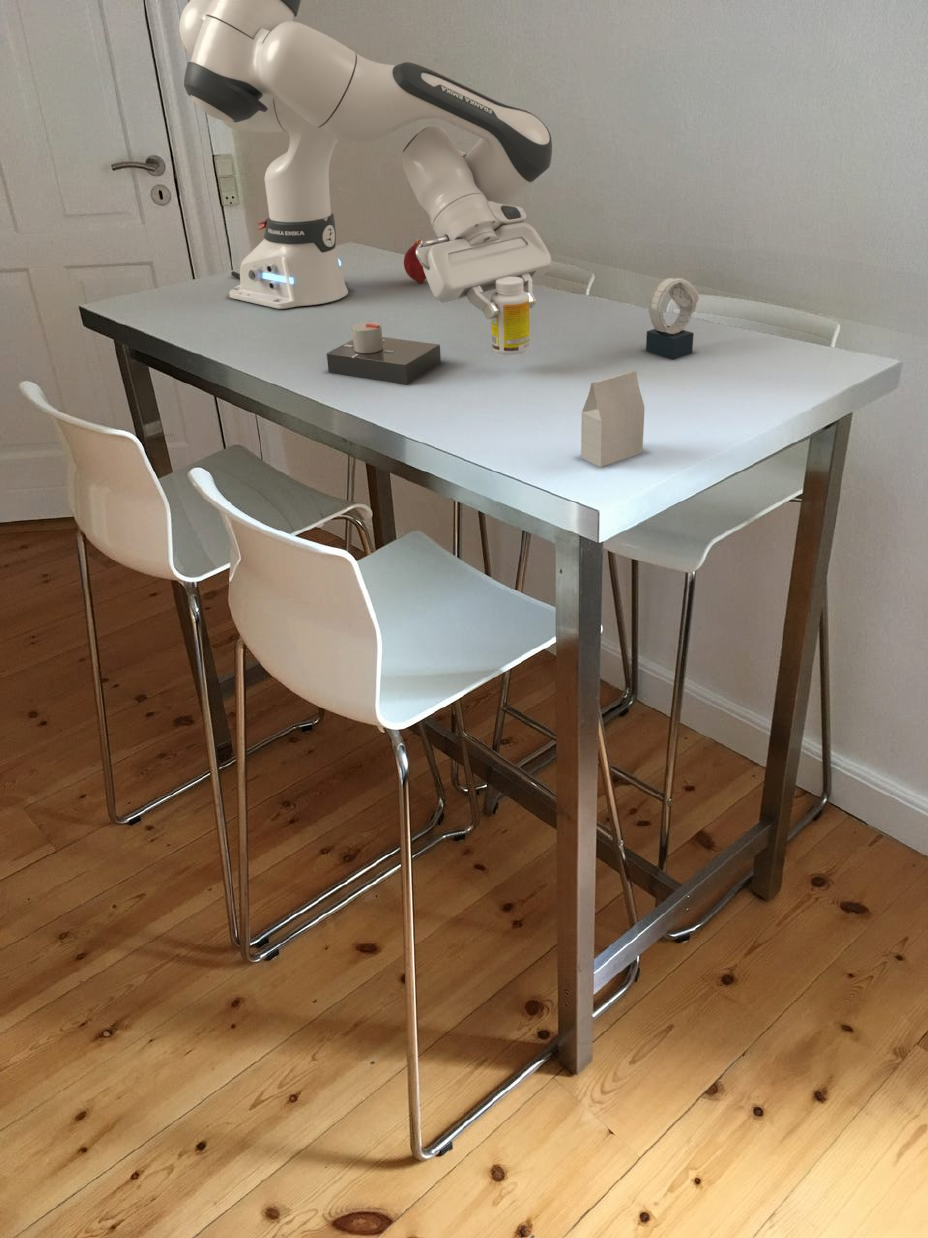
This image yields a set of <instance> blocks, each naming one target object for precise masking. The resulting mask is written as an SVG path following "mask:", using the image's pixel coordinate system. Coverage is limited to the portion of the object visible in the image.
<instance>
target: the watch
mask: <svg viewBox="0 0 928 1238" xmlns="http://www.w3.org/2000/svg"><path fill="white" fill-rule="evenodd" d="M667 293H668V294H669V296H670V298H671V299H672V300H673V302H674V303H675V305H676V308H677V309H678V310H679V312H678V315H677V317H676V319H675V321H674V322H673V323H672V324H671V325H668V324H667V323H666V319H665V315H664V312H663V311H662V302H663V300H664V297H665V295H666V294H667ZM699 300H700V295H699V293H698V291H697V289H696V288H695V286H694V285H693V284H692V283H691V282H689V281H688V280H686V279H685V278H681V277H676V278H673V277H667V278H664V279H662V280H660V281H659V282H658V283H657V284H656V285H655V288H654V289H653V291H652V294H651V295H650V300H649V305H648V307H649V308H648V314H649V319H650V322H651V324H652V326H653V329H650V330H647V331H646V338H645V341H646V342H645V352H647V353H650V354H653V355H656V356H660V357H663V358H666V359H670V360H676V359H678V358H681V357H685V356H688V355H690V354H693V348H694V347H693V346H694V332H693V331H688V330H685V328H686V327H687V326H688V325H689V322H690V321H691V320H692V316H693V314H694V313H695V312H696V308H697V303H699Z"/></svg>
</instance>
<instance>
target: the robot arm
mask: <svg viewBox="0 0 928 1238" xmlns="http://www.w3.org/2000/svg"><path fill="white" fill-rule="evenodd" d="M301 1H302V0H190V1H189V2H188V3H187V4H186V5H185V6H184V8H183V10H182V13H181V15H180V18H179V23H178V24H179V25H178V26H179V27H178V29H179V36H180V39H181V42H182V44H183V47H184V48H185V50H186V52H187V53H188V55H189V56H190V61H188V62H187V64H186V68H185V72H184V78H183V87H184V89H185V92H186V94H187V95H188V96H189V97H190V98H191V99H192V100H193V102H194V103H195V105H196V106H197V107H198V108H200V110H202V112H204V113H205V114H206V115H208V116H210V117H212V118H214V119H216V120H220V121H221V122H223V123H224V125H226V126H227V127H228V128H231V129H234V130H238V131H242V132H243V131H244V132H248V133H254V134H267V133H268V134H279V133H280V134H281V133H283V134H285V133H286V134H287V133H288V135H289V145H288V149H287V151H286V152H285V153H283V154H281V155H280V156H278V157H277V158H275V159H274V160H273V161H271V163H270V164H269V165H268V166H267V168H266V170H265V174H264V186H265V187H264V188H265V194H266V201H267V202H266V203H267V208H268V217H267V218H266V219H265V220H264V221H261V222H258V223H257V225H258V226H259V227H258V229H257V230H259V231H261V230H263V229H264V233H263V240H262V241H261V242H260V243H258V245H256V247H255V248H254V249H253V250H251V252H250V253H248V255H246V256H245V257H244V258H243V260H242V261H241V263H240V267H239V268H240V269H239V273H238V272H237V271H231V272H230V273H231V274H230V275H231V276H232V277H235V278H236V279H238V280H239V282H240V283H239V284H238V285H236V286H233V288H231V289H230V290H229V293H228V295H229V299H234V300H238V301H243V302H247V303H250V304H251V303H252V304H255V305H261V306H265V307H269V308H273V309H277V310H284V309H290V308H295V307H305V306H306V307H307V306H315V305H322V304H328V303H331V302H334V301H338V300H340V299H342V298H344V297H346V296H347V295H348V294H349V290H348V288H347V285H346V282H345V279H344V276H343V272H342V269H341V266H342V261H341V260H340V259H339V256H338V251H337V246H336V243H337V231H336V221H335V214H334V213H333V212H332V207H331V195H330V164H331V159H332V155H333V153H334V150H335V148H336V145H337V143H338V141H340V142H343V143H345V144H349V145H353V146H361V145H362V146H363V145H367V144H372V143H374V142H377V141H380V140H381V139H383V138H385V137H386V136H388V135H390V134H392V133H394V132H395V131H397V130H399V129H400V128H403V127H404V126H407V125H408V124H411V123H413V122H417V121H419V120H423V119H438V120H442V121H444V122H446V123H449V124H451V125H453V126H455V127H458V128H459V129H462V130H464V131H466V132H468V133H471V134H472V135H475V136H476V137H479V140H478V141H477V142H476V143H475V144H474V145H473V147H472V148H471V149H470V150H469V151H468V152H464V151H462V150H460V149H459V148H458V147H457V145H456V144H455V142H454V141H453V140H452V138H451V137H450V136H449V134H448V133H447V131H445V129H444V128H442V126H440V125H431V126H428V127H424V128H423V129H422V130H421V131H419V132H418V133H416V134H415V135H414V136H413V137H412V138H411V140H409V141H408V143H407V144H406V145H405V147H404V148H403V150H402V153H401V156H400V159H401V161H400V162H401V166H402V169H403V173H404V175H405V177H406V180H407V181H408V182H407V183H408V184H409V186H410V188H411V190H412V192H413V194H414V196H415V198H416V200H417V202H418V204H419V205H420V207H421V208H422V209H423V210H424V211H425V212H426V213H427V215H428V218H429V221H430V225H431V228H432V229H433V232H434V234H435V235H436V237H433V238H430V239H428V238H426V239H423V240H421V242H420V244H419V245H418V246H417V247H416V256H417V258H418V260H419V262H420V263H421V265H422V266H423V269H424V273H425V276H426V278H427V279H426V281H427V284H428V286H429V288H430V290H431V293H432V295H433V296H434V298H435V299H436V300H437V301H439V302H441V303H448V302H451V301H454V300H459V299H464V298H467V300H468V302H469V303H470V304H471V305H473V306H474V307H476V308H477V309H479V311H481V312H482V313H483V315H484V317H485V318H486V320H487V321H488V320H491V319H493V318H496V317H497V315H499V313H500V310H499V308H498V307H497V304H496V303H495V302H491V300H489V299H488V298H487V297H485V295H483V293H486V292H491V291H494V290H495V291H496V280H497V279H500V278H504V277H519V278H522V279H523V286H524V290H523V291H525V292H526V293H528V295H529V309H532V308H534V307H535V306H536V305H537V299H536V297H535V295H534V293H533V281H534V280H537V279H541V278H543V276H544V275H546V273H547V272H548V271H549V269H550V268H551V266H552V255H551V254H550V252H549V249H548V248H547V246H546V244H545V243H544V241H543V239H542V238H541V236H540V234H539V233H538V231H537V230H536V229H535V227H533V225H531V224H530V223H528V222H525V220H526V219H527V213H526V212H525V210H524V208H523V207H521V206H518V205H511V204H512V203H513V202H514V201H515V199H516V198H517V197H519V196H520V194H521V193H522V192H523V191H524V190H525V189H526V188H527V187H528V186H529V185H530V184H531V183H534V181H535V180H536V179H538V178H539V177H540V176H541V175H542V174H543V173H545V172H546V171H547V170H548V169H549V168H550V167H551V163H552V157H553V141H552V135H551V132H550V130H549V129H548V127H547V125H546V124H545V123H544V122H543V121H542V120H541V119H540V118H539V117H537V116H536V114H533V113H532V112H529V111H528V110H526V109H523V108H518V107H515V106H512V105H507V104H506V103H505V104H504V103H502V102H499V101H497V100H495V99H493V98H491V97H489V96H487V95H485V94H483V93H480V92H479V91H476V90H474V89H472V88H471V87H468V86H466V85H464V84H462V83H460V82H458V81H456V80H454V79H451V78H449V77H447V76H445V75H443V74H442V73H441V74H440V73H439V72H437V71H434V70H432V69H430V68H428V67H425V66H422V65H420V64H417V63H414V62H409V61H406V62H401V63H399V64H387V63H382V62H378V61H377V62H376V61H374V60H371V59H368V58H366V57H363V56H362V55H360V54H358V53H357V52H355V51H354V50H353V49H350V48H349V47H348V46H347V45H344V44H343V43H342V42H339V41H338V40H336V39H335V38H333V37H331V36H329V35H327V34H325V33H323V32H322V31H320V30H317V29H315V28H312V27H311V26H308V25H306V24H304V23H301V22H298V21H296V20H295V21H294V18H295V17H297V16H298V14H299V9H300V5H301ZM260 225H261V226H260ZM420 247H421V248H420Z"/></svg>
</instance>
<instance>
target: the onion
mask: <svg viewBox="0 0 928 1238" xmlns="http://www.w3.org/2000/svg"><path fill="white" fill-rule="evenodd" d="M421 241H422V240H421V239H420V238H417V239H415V241H414V243H413V245H412V246H410V248H408V249H407V251H406V252H405V255H404V257H403V267H404V270H405V273H406V274H407V276H408V277H409V278H410V279H412V280H413V281H415V282H416V283H419V284H422V283H424V282H425V281H426V280H427V278H426V276H425V273H424V269H423V266H422V265H421V263H420V262H419V260H418V258H417V256H416V247H417V246H418V245H419V244H420V242H421ZM420 248H421V247H420Z"/></svg>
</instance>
